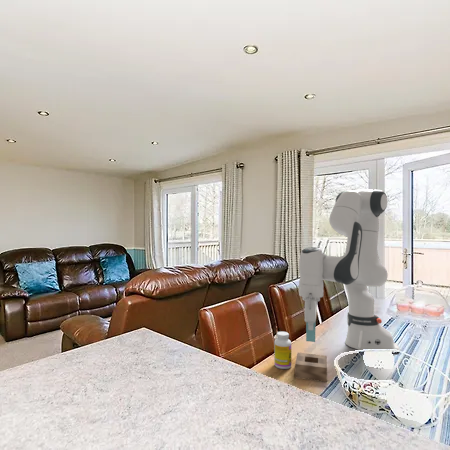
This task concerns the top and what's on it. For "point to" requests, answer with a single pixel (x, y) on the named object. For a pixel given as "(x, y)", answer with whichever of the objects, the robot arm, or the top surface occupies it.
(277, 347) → the supplement bottle
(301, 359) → the socket block
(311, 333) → the teal peg
